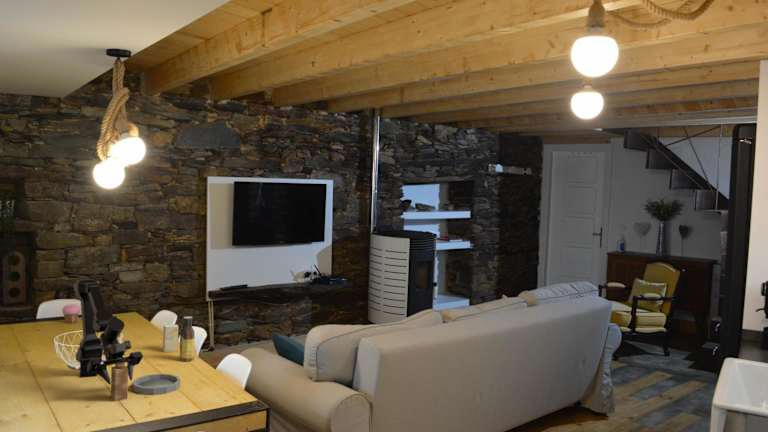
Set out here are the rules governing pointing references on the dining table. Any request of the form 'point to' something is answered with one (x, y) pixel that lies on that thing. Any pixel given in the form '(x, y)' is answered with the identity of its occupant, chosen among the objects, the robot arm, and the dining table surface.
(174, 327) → the skincare box
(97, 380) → the dining table surface
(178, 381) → the slate dish
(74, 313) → the cupcake
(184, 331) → the sauce bottle
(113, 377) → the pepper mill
